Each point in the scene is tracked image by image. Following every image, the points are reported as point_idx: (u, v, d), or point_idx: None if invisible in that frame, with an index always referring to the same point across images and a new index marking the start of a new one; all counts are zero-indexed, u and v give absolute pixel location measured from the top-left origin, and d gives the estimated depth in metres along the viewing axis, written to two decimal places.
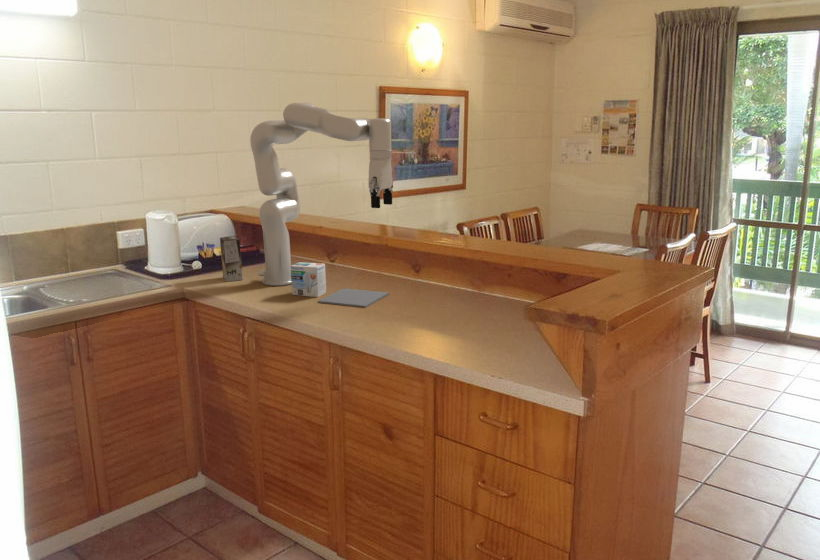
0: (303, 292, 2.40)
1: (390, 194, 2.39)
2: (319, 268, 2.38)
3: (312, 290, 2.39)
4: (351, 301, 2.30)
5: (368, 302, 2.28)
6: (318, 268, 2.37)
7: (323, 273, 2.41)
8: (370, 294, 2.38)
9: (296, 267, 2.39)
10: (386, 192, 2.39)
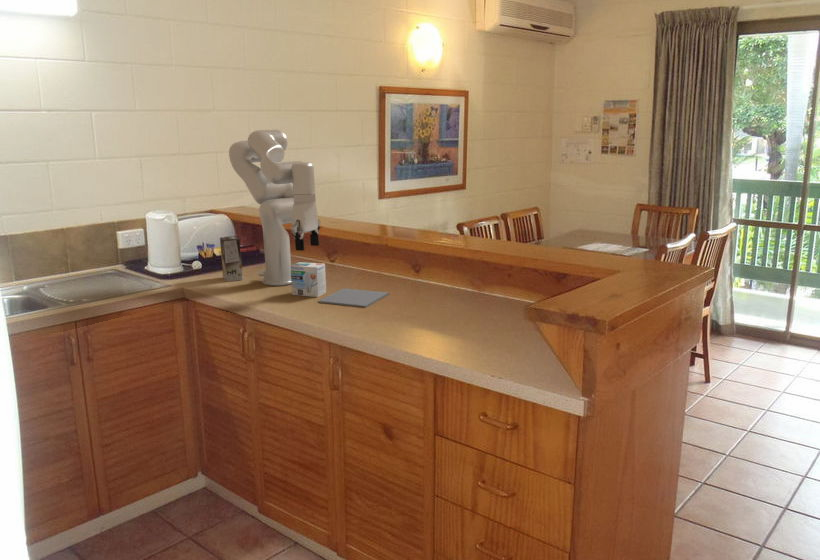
0: (303, 292, 2.40)
1: (316, 236, 2.42)
2: (319, 268, 2.38)
3: (312, 290, 2.39)
4: (351, 301, 2.30)
5: (368, 302, 2.28)
6: (318, 268, 2.37)
7: (323, 273, 2.41)
8: (370, 294, 2.38)
9: (296, 267, 2.39)
10: (313, 234, 2.42)
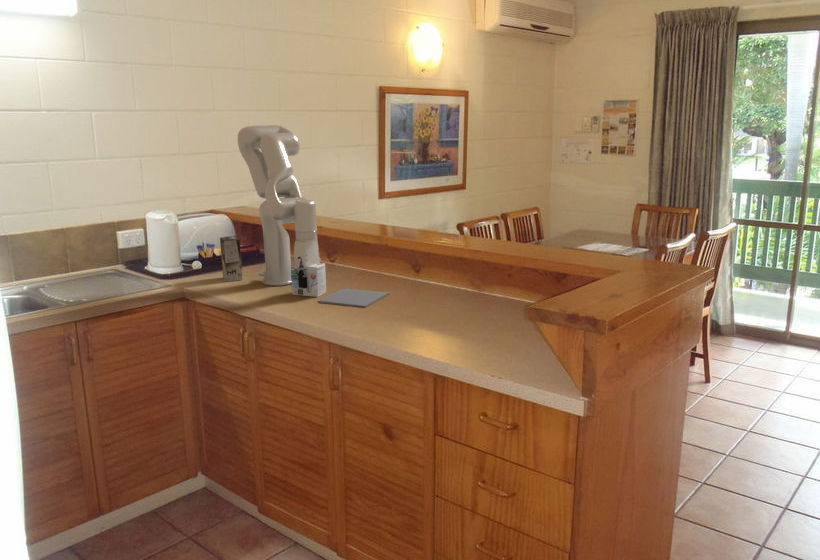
0: (303, 291, 2.40)
1: None
2: (319, 268, 2.38)
3: (312, 290, 2.39)
4: (351, 301, 2.30)
5: (368, 302, 2.28)
6: (318, 268, 2.37)
7: (323, 273, 2.41)
8: (370, 294, 2.38)
9: None
10: None
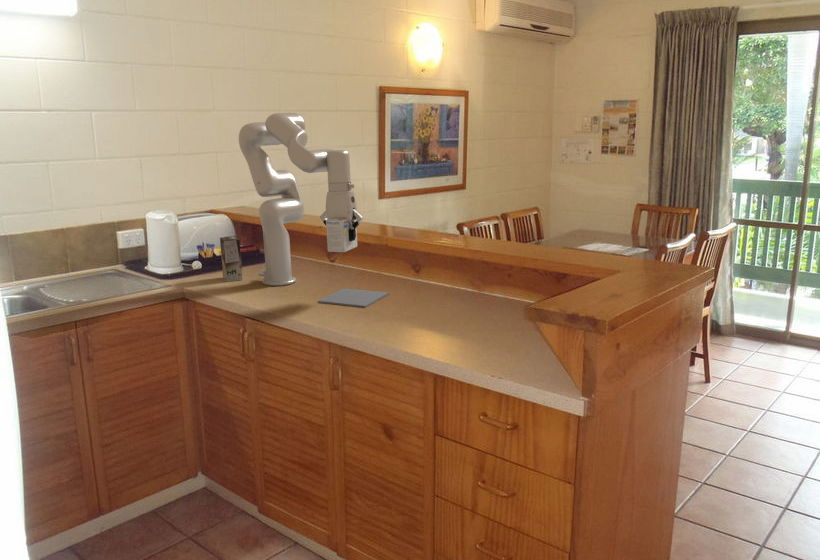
0: None
1: None
2: (330, 222, 2.27)
3: None
4: (351, 301, 2.30)
5: (368, 302, 2.28)
6: (328, 222, 2.27)
7: (338, 229, 2.26)
8: (370, 294, 2.38)
9: None
10: None
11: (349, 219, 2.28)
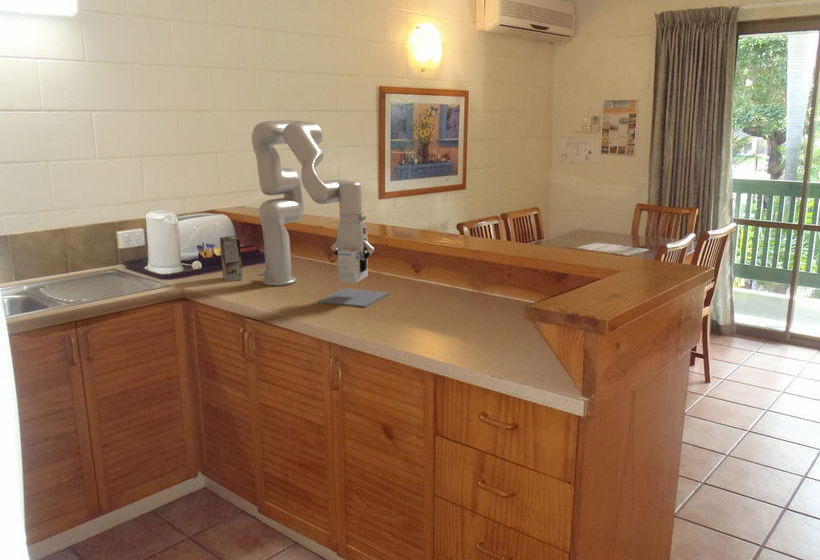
0: None
1: None
2: (342, 253, 2.28)
3: None
4: (351, 301, 2.30)
5: (368, 302, 2.28)
6: (340, 253, 2.28)
7: (349, 261, 2.27)
8: (370, 294, 2.38)
9: None
10: None
11: (360, 250, 2.29)
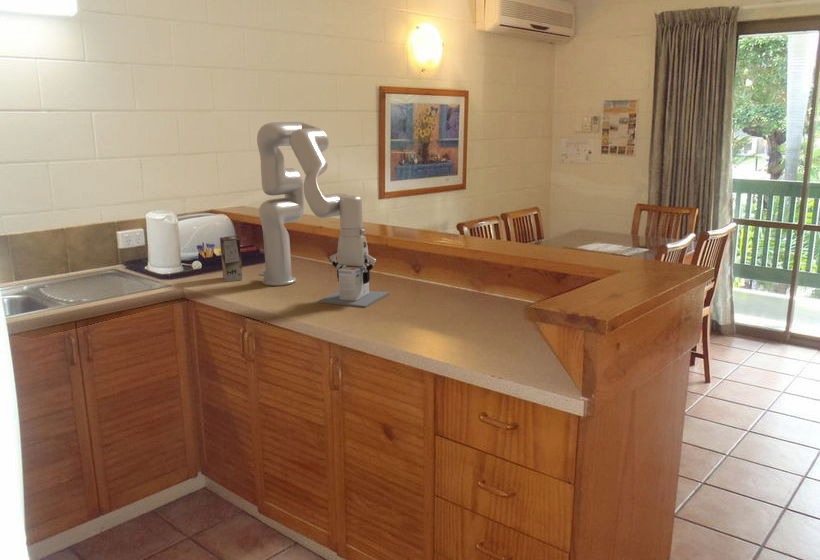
0: None
1: None
2: (342, 271, 2.29)
3: None
4: (351, 301, 2.30)
5: (368, 302, 2.28)
6: (341, 271, 2.30)
7: (350, 279, 2.29)
8: (370, 294, 2.38)
9: None
10: None
11: (361, 264, 2.30)
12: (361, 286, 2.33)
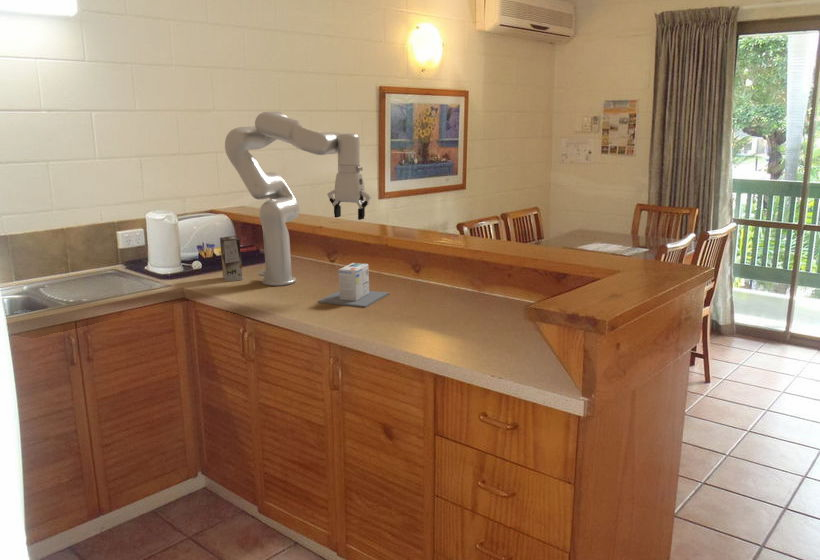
0: None
1: None
2: (342, 271, 2.29)
3: None
4: (351, 301, 2.30)
5: (368, 302, 2.28)
6: (341, 271, 2.30)
7: (350, 279, 2.29)
8: (370, 294, 2.38)
9: None
10: None
11: (356, 200, 2.38)
12: (361, 286, 2.33)
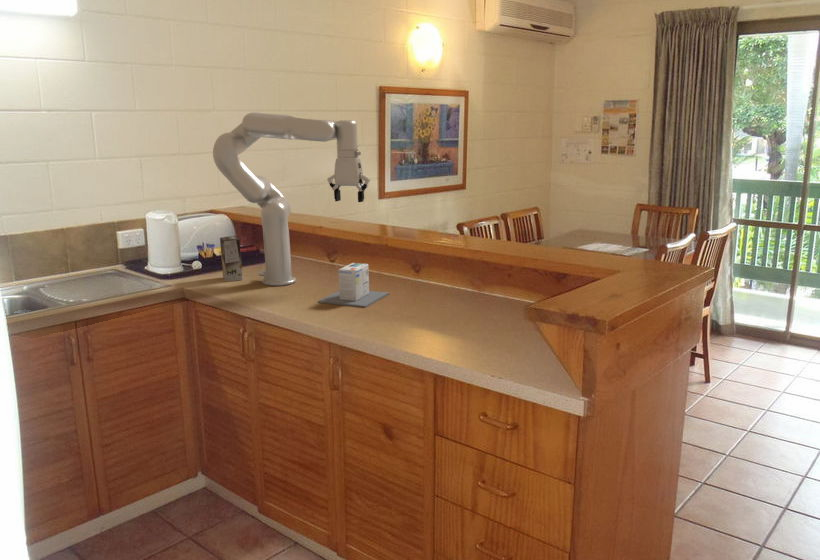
0: None
1: None
2: (342, 271, 2.29)
3: None
4: (351, 301, 2.30)
5: (368, 302, 2.28)
6: (341, 271, 2.30)
7: (350, 279, 2.29)
8: (370, 294, 2.38)
9: None
10: None
11: (356, 183, 2.50)
12: (361, 286, 2.33)
